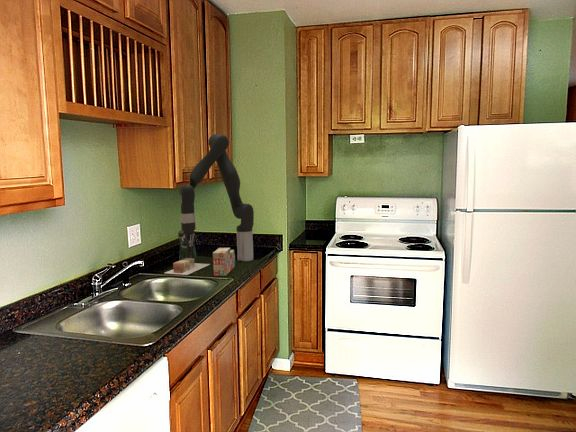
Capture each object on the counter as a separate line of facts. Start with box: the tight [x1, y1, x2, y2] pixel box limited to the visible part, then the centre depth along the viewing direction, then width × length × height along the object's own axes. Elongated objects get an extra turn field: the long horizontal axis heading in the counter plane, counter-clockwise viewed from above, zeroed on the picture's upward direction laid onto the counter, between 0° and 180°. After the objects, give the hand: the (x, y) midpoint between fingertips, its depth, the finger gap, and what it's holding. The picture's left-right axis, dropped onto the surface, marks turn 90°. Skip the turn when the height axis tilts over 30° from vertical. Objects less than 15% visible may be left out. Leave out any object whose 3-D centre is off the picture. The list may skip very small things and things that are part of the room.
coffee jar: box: [177, 230, 198, 262], centre depth 254 cm, size 10×8×19 cm
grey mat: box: [164, 262, 211, 276], centre depth 234 cm, size 24×14×1 cm, turn 160°
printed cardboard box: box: [212, 247, 236, 277], centre depth 230 cm, size 21×6×12 cm, turn 173°
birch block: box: [172, 258, 195, 273], centre depth 230 cm, size 5×5×12 cm
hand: (189, 253), depth 235 cm, fingers closed
